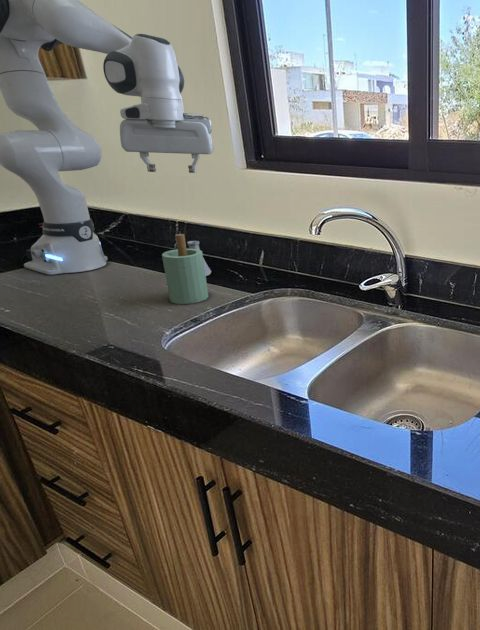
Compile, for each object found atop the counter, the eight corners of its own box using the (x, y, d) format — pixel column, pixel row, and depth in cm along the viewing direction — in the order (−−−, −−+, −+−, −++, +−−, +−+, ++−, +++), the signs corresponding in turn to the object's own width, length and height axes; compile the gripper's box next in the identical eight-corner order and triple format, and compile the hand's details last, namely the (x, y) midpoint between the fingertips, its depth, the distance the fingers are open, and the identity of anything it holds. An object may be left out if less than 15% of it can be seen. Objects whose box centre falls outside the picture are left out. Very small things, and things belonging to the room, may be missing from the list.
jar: (162, 301, 120) (153, 255, 115) (188, 290, 128) (181, 247, 123) (191, 306, 117) (183, 259, 113) (215, 294, 125) (209, 250, 121)
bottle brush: (178, 297, 121) (168, 235, 115) (188, 292, 124) (179, 232, 118) (190, 299, 120) (180, 236, 114) (200, 294, 123) (191, 234, 117)
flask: (215, 272, 144) (211, 239, 140) (203, 279, 137) (198, 245, 133) (193, 270, 144) (188, 238, 141) (179, 277, 138) (174, 244, 134)
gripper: (212, 114, 118) (218, 171, 123) (122, 110, 114) (132, 169, 119) (207, 114, 113) (214, 174, 118) (112, 109, 108) (123, 172, 113)
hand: (172, 172), depth 118 cm, fingers open, 8 cm apart
